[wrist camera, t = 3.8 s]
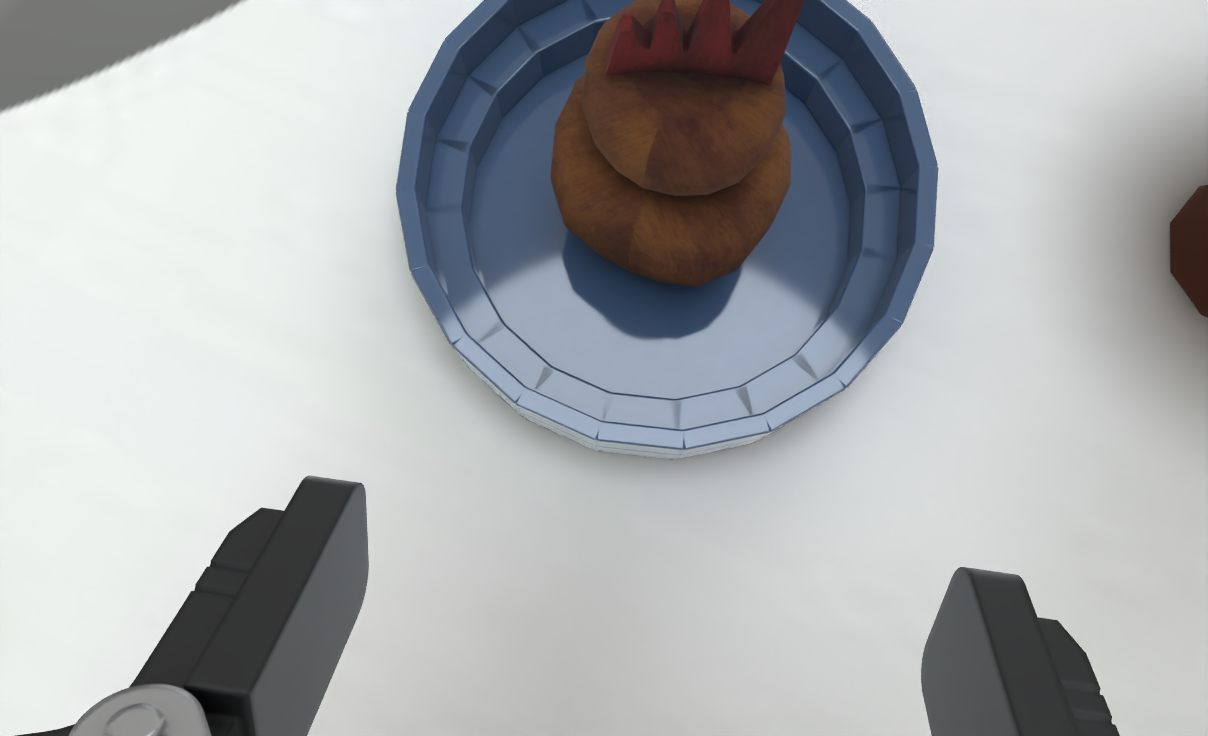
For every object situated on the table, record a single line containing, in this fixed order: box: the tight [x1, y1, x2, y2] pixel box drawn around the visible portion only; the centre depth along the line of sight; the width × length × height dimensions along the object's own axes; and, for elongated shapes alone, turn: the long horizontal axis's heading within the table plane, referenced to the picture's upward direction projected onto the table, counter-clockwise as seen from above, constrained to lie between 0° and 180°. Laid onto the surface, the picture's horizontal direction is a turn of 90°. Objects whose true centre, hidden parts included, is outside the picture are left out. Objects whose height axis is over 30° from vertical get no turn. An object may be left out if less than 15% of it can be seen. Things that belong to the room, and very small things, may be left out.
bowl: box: [396, 0, 938, 459], centre depth 31 cm, size 16×16×4 cm
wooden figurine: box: [550, 0, 804, 287], centre depth 26 cm, size 7×6×15 cm
